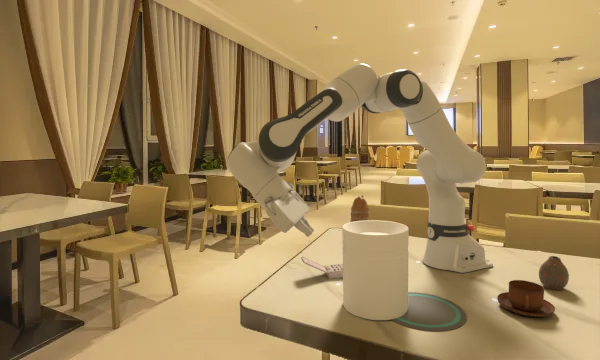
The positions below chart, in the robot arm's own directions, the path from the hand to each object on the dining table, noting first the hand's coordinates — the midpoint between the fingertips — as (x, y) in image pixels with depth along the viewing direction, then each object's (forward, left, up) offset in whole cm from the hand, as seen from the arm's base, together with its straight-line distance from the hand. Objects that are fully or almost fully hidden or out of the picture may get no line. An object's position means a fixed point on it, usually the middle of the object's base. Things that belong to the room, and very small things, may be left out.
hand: (311, 233), depth 91 cm
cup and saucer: (-50, +18, -18) cm, 56 cm away
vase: (-69, +9, -18) cm, 72 cm away
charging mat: (-25, +8, -18) cm, 31 cm away
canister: (-15, +7, -18) cm, 24 cm away
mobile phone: (-14, -15, -18) cm, 27 cm away
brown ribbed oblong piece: (-39, -57, -18) cm, 71 cm away
